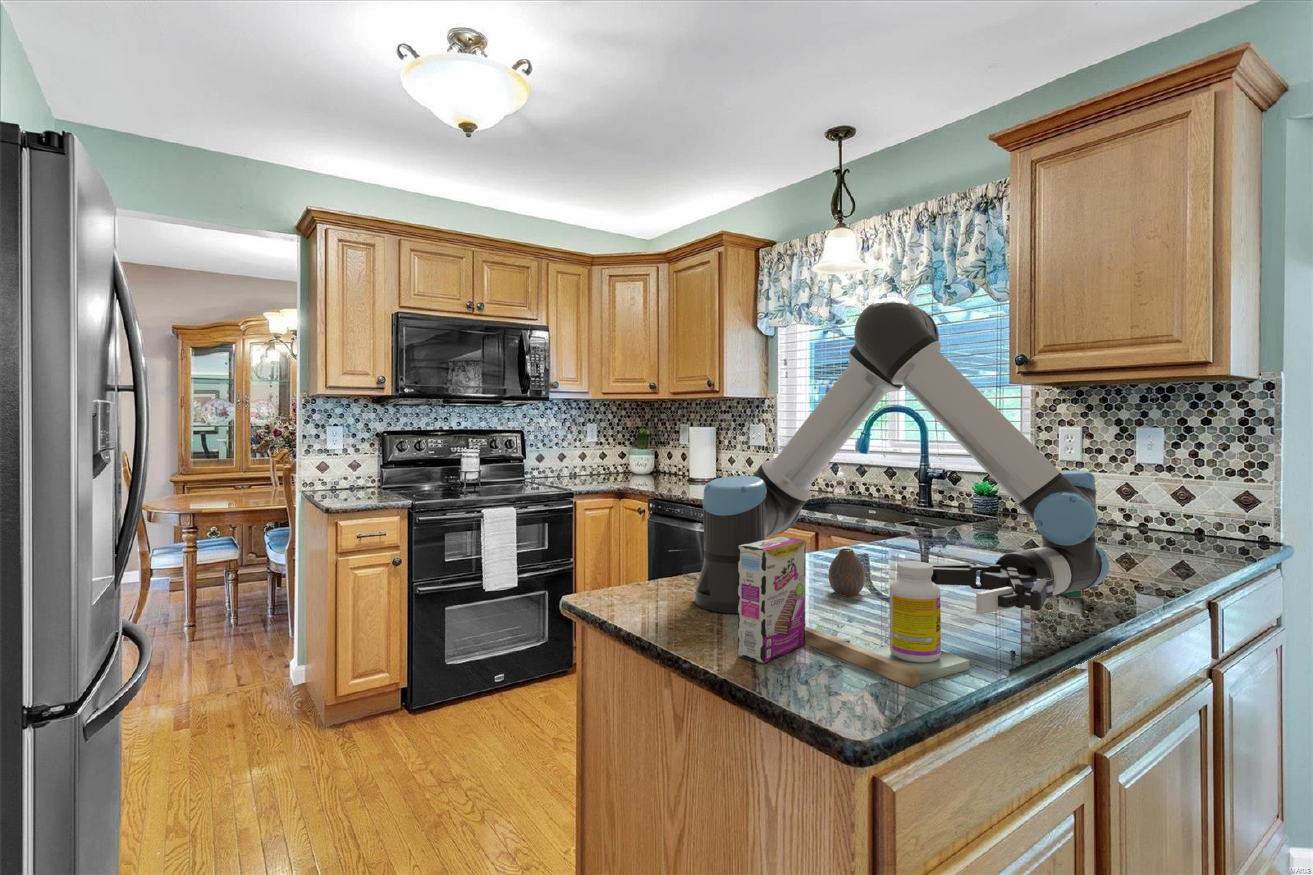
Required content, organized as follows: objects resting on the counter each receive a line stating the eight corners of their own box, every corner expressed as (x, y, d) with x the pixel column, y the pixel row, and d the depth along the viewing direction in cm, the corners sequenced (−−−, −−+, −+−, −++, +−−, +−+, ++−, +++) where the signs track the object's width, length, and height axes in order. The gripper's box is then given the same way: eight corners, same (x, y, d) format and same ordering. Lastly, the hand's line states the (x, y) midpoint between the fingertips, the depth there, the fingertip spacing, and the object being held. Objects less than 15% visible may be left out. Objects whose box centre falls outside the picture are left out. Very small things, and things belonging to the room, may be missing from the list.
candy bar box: (765, 665, 95) (764, 549, 95) (736, 657, 99) (735, 545, 98) (807, 645, 103) (807, 538, 103) (780, 638, 107) (779, 535, 106)
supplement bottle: (945, 666, 91) (945, 570, 91) (893, 663, 92) (893, 569, 92) (935, 649, 97) (935, 560, 97) (886, 646, 99) (886, 558, 98)
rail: (777, 631, 110) (777, 619, 110) (832, 620, 116) (832, 608, 116) (911, 687, 87) (911, 672, 87) (972, 670, 92) (972, 655, 92)
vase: (840, 599, 129) (840, 553, 129) (822, 591, 136) (821, 547, 136) (872, 596, 131) (872, 551, 131) (852, 588, 138) (852, 545, 138)
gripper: (1115, 618, 95) (1018, 643, 85) (961, 582, 117) (870, 599, 107) (1115, 565, 95) (1018, 584, 85) (961, 538, 117) (870, 551, 107)
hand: (935, 592), depth 96 cm, fingers open, 13 cm apart
